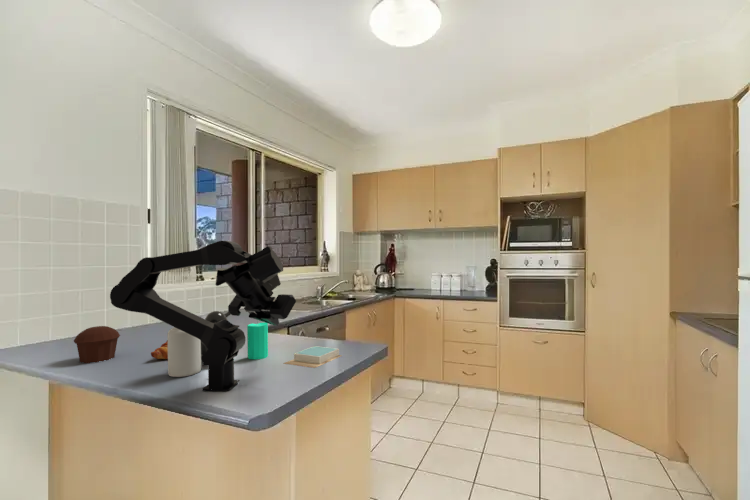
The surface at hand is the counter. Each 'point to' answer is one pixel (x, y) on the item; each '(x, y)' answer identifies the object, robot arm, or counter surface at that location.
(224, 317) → the pump dispenser
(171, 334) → the pill bottle
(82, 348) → the muffin
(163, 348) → the croissant
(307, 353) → the tile
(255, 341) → the candle
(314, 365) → the mat
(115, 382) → the counter surface
